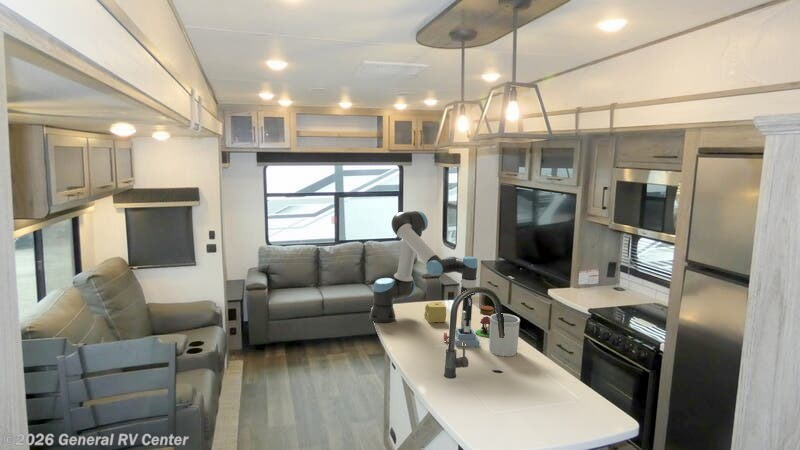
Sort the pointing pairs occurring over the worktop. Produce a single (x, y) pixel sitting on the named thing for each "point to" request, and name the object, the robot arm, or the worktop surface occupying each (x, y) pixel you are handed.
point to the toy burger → (485, 321)
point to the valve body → (464, 338)
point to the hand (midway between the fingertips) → (465, 329)
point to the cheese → (435, 312)
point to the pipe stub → (463, 323)
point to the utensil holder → (510, 339)
